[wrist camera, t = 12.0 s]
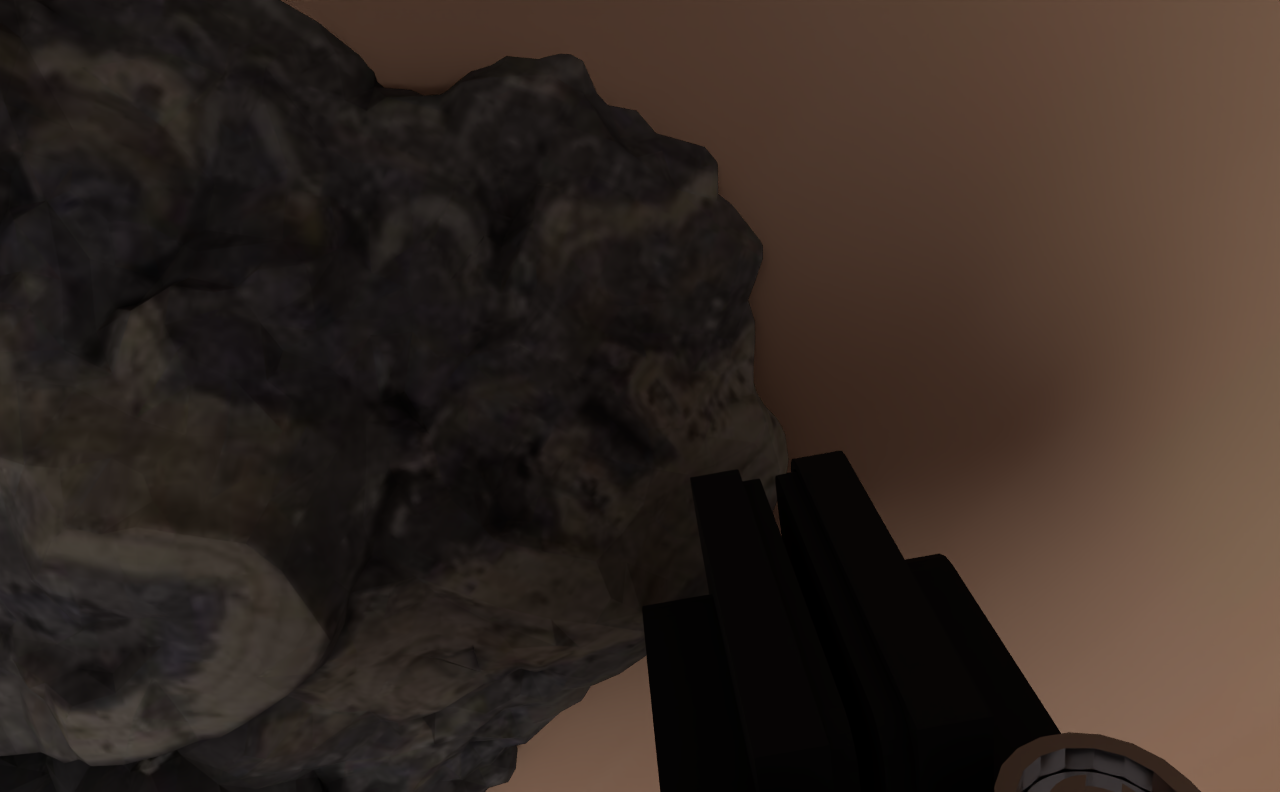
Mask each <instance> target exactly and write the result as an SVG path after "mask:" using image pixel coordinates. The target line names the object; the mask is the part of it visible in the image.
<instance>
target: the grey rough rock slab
mask: <svg viewBox="0 0 1280 792" xmlns="http://www.w3.org/2000/svg"><path fill="white" fill-rule="evenodd" d="M762 259H763V245H762V243H761V242H760V240H759V239H758V237H757V236H756V235H755V233H754V232H753V231H752V230H751V228H750V227H749V226H748V224H747V223H746V222H745V221H744V219H743V218H742V217H741V215H740V214H739V213H738V212H737V210H736V209H735V208H734V206H733V205H731V204H730V203H729V202H728V201H726V200H725V199H724V198H723V197H721V196H720V195H719V194H718V164H717V162H716V160H715V159H714V158H713V157H712V155H711V154H710V153H709V152H708V150H707V149H706V148H705V147H703V146H699V145H696V144H692V143H689V142H685V141H682V140H678V139H674V138H671V137H667V136H664V135H660V134H657V133H655V132H654V131H653V129H652V128H651V127H650V126H649V125H648V124H647V122H646V121H645V120H644V119H643V118H642V117H641V115H640V114H639V113H638V112H637V111H635V110H630V109H625V108H620V107H614V106H609V105H607V104H606V103H605V102H604V101H603V99H602V98H601V97H600V96H599V95H598V94H597V93H596V90H595V88H594V86H593V83H592V81H591V79H590V76H589V74H588V72H587V69H586V67H585V65H584V62H583V61H582V60H580V59H578V58H576V57H574V56H572V55H570V54H557V55H552V56H548V57H545V58H541V59H531V58H520V57H510V56H506V57H504V58H503V59H501V60H499V61H498V62H496V63H495V64H493V65H491V66H488V67H484V68H481V69H478V70H475V71H471V72H470V73H468V74H467V75H466V76H465V77H463V78H462V79H461V80H460V81H458V82H457V83H456V84H455V85H454V86H452V87H451V88H450V89H449V90H448V91H446V92H445V93H443V94H440V95H428V96H423V95H421V94H419V93H416V92H414V91H412V90H405V89H391V88H384V87H383V86H382V85H380V84H379V83H378V82H377V79H376V77H375V74H374V72H373V71H372V70H371V69H370V68H369V67H368V66H367V64H366V63H365V62H364V60H363V59H362V58H361V57H360V56H359V55H358V54H357V53H356V52H354V51H353V50H352V49H351V48H349V47H348V46H347V45H346V44H344V43H343V42H342V41H340V40H339V39H338V38H337V37H335V36H334V35H333V34H332V33H330V32H329V31H328V30H327V29H326V28H324V27H323V26H322V25H321V24H320V23H318V22H317V21H315V20H313V19H311V18H310V17H308V16H306V15H304V14H303V13H301V12H299V11H298V10H296V9H294V8H292V7H291V6H289V5H287V4H286V3H284V2H282V1H280V0H0V792H486V790H487V789H488V788H490V787H493V786H496V785H500V784H503V783H506V782H509V780H510V778H511V776H512V774H513V772H514V770H515V768H516V760H517V745H520V744H526V743H527V742H528V741H529V740H530V739H531V738H532V737H533V736H534V735H536V734H537V733H538V732H539V731H540V730H541V729H542V728H543V727H544V726H545V725H546V724H548V723H549V722H550V721H551V720H552V719H553V718H554V717H555V716H557V715H558V714H559V713H560V712H561V711H563V710H565V709H567V708H569V707H571V706H572V705H574V704H576V703H578V702H580V701H581V700H582V699H583V697H584V696H585V694H586V693H587V691H588V690H589V688H590V686H592V685H595V684H597V683H599V682H602V681H604V680H606V679H609V678H611V677H613V676H616V675H618V674H620V673H621V672H623V671H624V670H626V669H627V668H629V667H630V666H632V665H633V664H634V663H636V662H637V661H639V660H640V659H642V658H643V657H645V656H646V655H647V654H646V645H645V635H644V625H643V613H642V607H643V606H647V605H652V604H658V603H664V602H669V601H675V600H680V599H686V598H692V597H697V596H703V595H709V590H708V584H707V578H706V572H705V566H704V560H703V554H702V549H701V543H700V537H699V531H698V525H697V519H696V513H695V507H694V501H693V495H692V489H691V482H690V477H696V476H701V475H707V474H712V473H718V472H724V471H729V470H735V469H738V470H739V472H740V475H741V478H742V481H747V480H752V479H758V478H759V479H760V480H761V483H762V485H763V488H764V491H765V493H766V496H767V499H768V502H769V504H770V507H771V510H772V512H773V510H774V507H775V505H776V502H777V493H776V484H775V477H776V475H780V474H786V472H787V466H788V460H789V458H788V452H787V445H786V438H785V433H784V431H783V429H782V427H781V425H780V423H779V422H778V420H777V418H776V417H775V416H774V415H773V414H772V413H771V412H770V411H769V410H768V409H767V408H766V407H765V406H764V404H763V402H762V401H761V399H760V397H759V396H758V394H757V393H756V389H755V386H754V382H753V362H754V348H755V321H754V318H753V314H752V311H751V308H750V305H749V302H748V299H749V296H750V293H751V290H752V288H753V285H754V282H755V280H756V277H757V274H758V271H759V268H760V265H761V262H762Z"/></svg>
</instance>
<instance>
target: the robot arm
mask: <svg viewBox="0 0 1280 792" xmlns="http://www.w3.org/2000/svg"><path fill="white" fill-rule="evenodd" d="M690 482H691V489H692V495H693V501H694V507H695V513H696V519H697V525H698V531H699V537H700V543H701V549H702V554H703V560H704V566H705V572H706V578H707V584H708V590H709V595H703V596H697V597H692V598H686V599H680V600H675V601H669V602H664V603H658V604H652V605H647V606H643V607H642V613H643V625H644V635H645V645H646V654H647V664H648V674H649V684H650V694H651V704H652V714H653V723H654V733H655V743H656V753H657V763H658V773H659V783H660V792H1201V791H1200V790H1199V789H1198V788H1197V787H1196V786H1195V785H1194V784H1193V783H1192V782H1191V781H1190V780H1189V779H1188V778H1186V777H1185V776H1184V775H1183V774H1181V773H1180V772H1179V771H1178V770H1176V769H1175V768H1174V767H1173V766H1171V765H1170V764H1169V763H1168V762H1166V761H1165V760H1164V759H1162V758H1160V757H1158V756H1156V755H1154V754H1152V753H1150V752H1148V751H1146V750H1144V749H1142V748H1140V747H1139V746H1137V745H1135V744H1132V743H1129V742H1125V741H1122V740H1118V739H1115V738H1111V737H1107V736H1104V735H1100V734H1085V733H1070V732H1068V733H1062V734H1061V732H1060V731H1059V729H1058V728H1057V726H1056V725H1055V723H1054V722H1053V720H1052V718H1051V717H1050V715H1049V714H1048V712H1047V711H1046V709H1045V708H1044V706H1043V704H1042V703H1041V701H1040V700H1039V698H1038V697H1037V695H1036V694H1035V692H1034V691H1033V689H1032V687H1031V686H1030V684H1029V683H1028V681H1027V680H1026V678H1025V677H1024V675H1023V673H1022V672H1021V670H1020V669H1019V667H1018V666H1017V664H1016V663H1015V661H1014V660H1013V658H1012V656H1011V655H1010V653H1009V652H1008V650H1007V649H1006V647H1005V646H1004V644H1003V642H1002V641H1001V639H1000V638H999V636H998V635H997V633H996V632H995V630H994V628H993V627H992V625H991V624H990V622H989V621H988V619H987V618H986V616H985V615H984V613H983V611H982V610H981V608H980V607H979V605H978V604H977V602H976V601H975V599H974V597H973V596H972V594H971V593H970V591H969V590H968V588H967V587H966V585H965V583H964V582H963V580H962V579H961V577H960V576H959V574H958V573H957V571H956V570H955V568H954V566H953V565H952V564H951V562H950V561H949V560H948V559H947V558H946V556H944V555H941V554H935V555H929V556H923V557H918V558H912V559H906V560H904V558H903V556H902V554H901V553H900V551H899V549H898V547H897V545H896V544H895V542H894V540H893V538H892V537H891V535H890V533H889V531H888V530H887V528H886V526H885V524H884V523H883V521H882V519H881V517H880V515H879V514H878V512H877V510H876V508H875V507H874V505H873V503H872V501H871V500H870V498H869V496H868V494H867V493H866V491H865V489H864V487H863V485H862V484H861V482H860V480H859V478H858V477H857V475H856V473H855V471H854V470H853V468H852V466H851V464H850V463H849V461H848V459H847V457H846V456H845V454H844V453H843V451H835V452H830V453H824V454H819V455H813V456H807V457H802V458H796V459H792V462H791V473H786V474H780V475H776V477H775V484H776V493H777V501H778V510H779V518H780V526H781V534H782V537H781V534H780V532H779V529H778V526H777V523H776V521H775V518H774V515H773V512H772V510H771V507H770V504H769V502H768V499H767V496H766V493H765V491H764V488H763V485H762V483H761V480H760V479H759V478H758V479H752V480H747V481H742V478H741V475H740V472H739V470H738V469H735V470H729V471H724V472H718V473H712V474H707V475H701V476H696V477H690Z"/></svg>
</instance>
